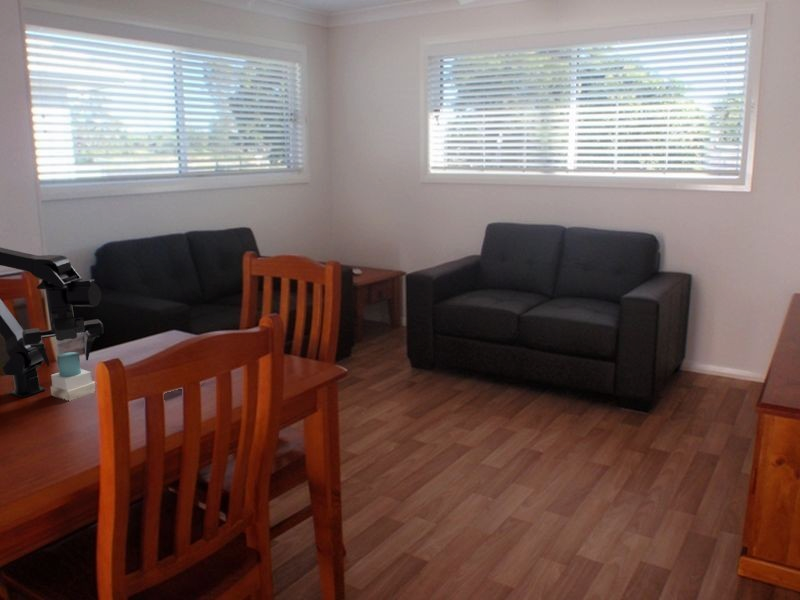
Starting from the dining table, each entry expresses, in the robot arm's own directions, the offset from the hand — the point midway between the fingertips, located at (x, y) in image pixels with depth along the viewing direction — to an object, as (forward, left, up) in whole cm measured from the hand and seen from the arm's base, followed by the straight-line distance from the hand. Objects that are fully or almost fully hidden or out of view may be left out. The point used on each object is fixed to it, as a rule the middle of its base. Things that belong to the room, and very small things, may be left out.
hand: (67, 363), depth 185 cm
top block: (0, +1, -6) cm, 6 cm away
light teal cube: (0, 0, -3) cm, 3 cm away
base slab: (0, +1, -9) cm, 9 cm away
